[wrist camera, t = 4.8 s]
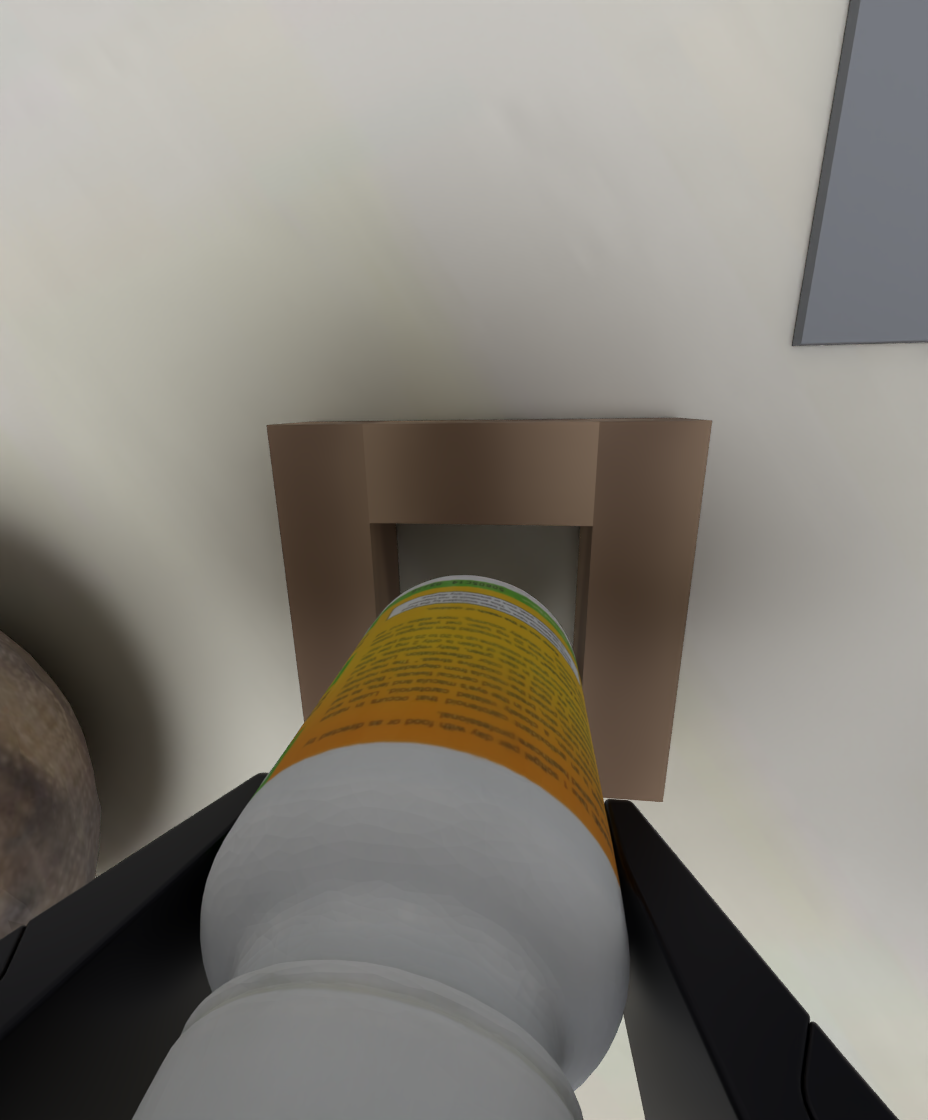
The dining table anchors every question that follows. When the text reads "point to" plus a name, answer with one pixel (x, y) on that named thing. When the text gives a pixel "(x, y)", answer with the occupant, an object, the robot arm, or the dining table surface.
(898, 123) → the rubber pad
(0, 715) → the ceramic bowl
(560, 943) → the supplement bottle
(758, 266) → the dining table surface
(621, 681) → the walnut holder
